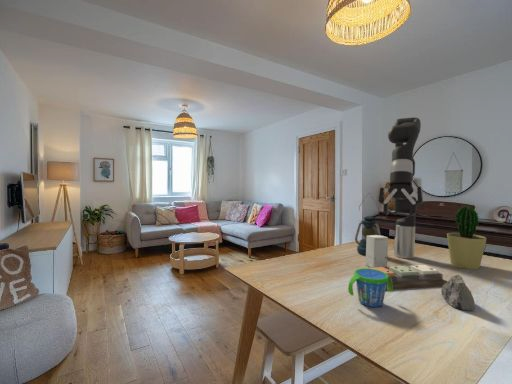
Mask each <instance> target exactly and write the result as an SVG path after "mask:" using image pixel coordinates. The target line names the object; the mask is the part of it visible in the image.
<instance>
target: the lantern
mask: <svg viewBox="0 0 512 384" xmlns="http://www.w3.org/2000/svg"><path fill="white" fill-rule="evenodd" d="M368 195H370V196H371V199H373V201H374V203H375V204H376V206H378V204H377V202H376V201H375V199H374V198H373V196H372V194H371V193H370V192H368V193H367V195H366V196H365V197H364V199H363V201H362V202H361V203H360V205H359V207H358V208H359V209H358V210H360V207H361V205H362V204H363V202H364V201H365V199H366V198H367V197H368ZM377 210H378V213H380V209H379V207H377ZM379 223H380V221H378V222H377V221H375V217H372V216H370V215H367V216H364V217H363V219H362V220H360V223H358V225H357V226H358V227H357V229H356V233H355V236H354V241H355V243H356V244H357V246H356V250H357V254H359V255H361V256H365V257H366V238H367V236H369V235H376V232H377V234H378V235H381V230H380V226H379ZM362 225H363V228H362V227H361V226H362ZM374 226H376V229H375V228H374ZM361 228H362V231H361V230H360V229H361ZM376 230H377V231H376ZM360 232H361V234H362V236H363V237H364V238H362V239H360V241H359V240H358V239H359V234H360ZM381 236H382V235H381Z"/></svg>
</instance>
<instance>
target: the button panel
mask: <svg viewBox="0 0 512 384" xmlns="http://www.w3.org/2000/svg"><path fill="white" fill-rule="evenodd" d="M387 269H388V270H389V268H387ZM390 271H391V270H390ZM392 272H393V271H392ZM443 276H444V274H443V273H441V272H439V271H438V274H421V273H419V272H417V275H404V276H401V275H399V274H397V273H395V272H394V276H390V277H391V279H392V283H393V290H400V289H415V288H416V289H417V288H431V287H432V288H433V287H443V285H444V284H445V283H447V282H448V281H449V280H445V279H443ZM386 290H387V284H386ZM386 290H385V291H386ZM387 291H388V290H387Z"/></svg>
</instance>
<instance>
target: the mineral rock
mask: <svg viewBox="0 0 512 384" xmlns="http://www.w3.org/2000/svg"><path fill="white" fill-rule="evenodd" d="M462 277H463V276H461V275H460V274H455V275H452V276H451V277H450V278H449V280H447V281H448V282H447V283H445V284H444V285H443V286H441V287H442V288H441V289H440V291H441V292H440V293H441V295H442V298H443V299H444V300H445V301H446V302H447V303H448V304H449V305H450V306H451V307H453V308H454V309H458V310H463V311H465V312H466V311H468V312H469V311H474V310H475V309H476V304H475V299H474V297H473V294H472V291H471V290H470V289H469V287H468V286H467V284H466V283H465V280H464V279H463V278H462Z"/></svg>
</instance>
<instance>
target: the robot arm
mask: <svg viewBox="0 0 512 384" xmlns="http://www.w3.org/2000/svg"><path fill="white" fill-rule="evenodd" d="M420 132H421V120H420V118H419V117H416V116H415V117H404V118H397V119H396V120H395V122H394V125H393V126H391V127H390V128H389V130H388V133H387V137H388V141H389V142H391V143H392V144H394V146H395V147H394V148H393V150H392V152H391V163H390V169H389V170H390V171H389V186H388V188H384V187H380V188H379V193H378V203H380V204H382V205H383V208H382V209H383V210H382V211H383V213H384V215H386V216H388V215H389V212H390V211H389V210H390V209H389V208H390V205H389V204H390V203H392V202H393V211H394V212H395V213H399V214H408V215H407V216H405V217H402V218H398V219H396V221H395V237H394V243H393V244H394V245H393V255H394V256H396V257H397V258H401V259H414V258H415V247H416V245H415V244H416V241H415V240H416V215H417V208H418V206H419V205H423V203H424V201H423V199H424V198H423V189H422V187H421V186H418V187H413V178H414V176H415V173H416V161H415V159H414V157H413V155H414V149H415V145H416V142H417V140H418V138H419V135H420ZM387 192H388V196H387V197H386V198H385V195H386V194H387ZM414 192H415V194H416V195H417V198H416V197H415V196H411V195H412V194H413V193H414Z"/></svg>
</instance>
